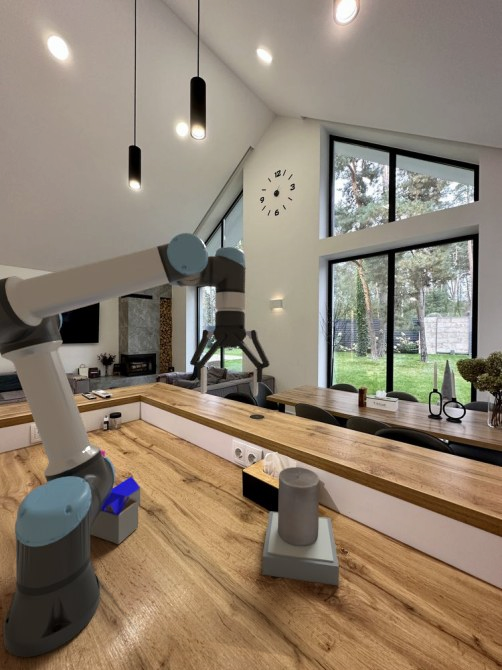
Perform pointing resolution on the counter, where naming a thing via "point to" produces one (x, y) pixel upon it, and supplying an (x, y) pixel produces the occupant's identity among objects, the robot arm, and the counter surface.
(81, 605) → the robot arm
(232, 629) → the counter surface
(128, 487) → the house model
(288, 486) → the pillar candle
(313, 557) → the plinth
